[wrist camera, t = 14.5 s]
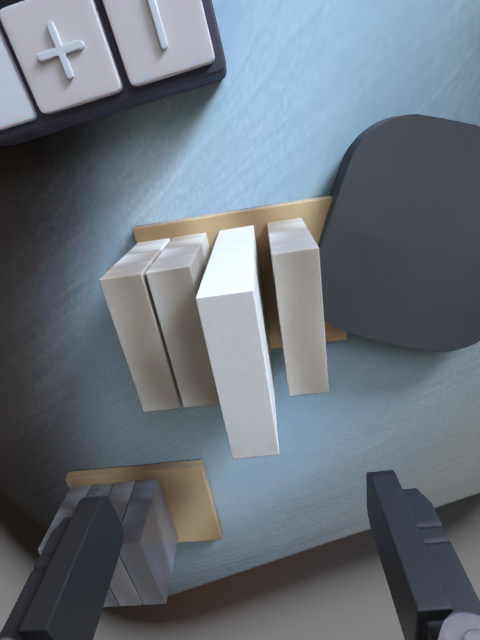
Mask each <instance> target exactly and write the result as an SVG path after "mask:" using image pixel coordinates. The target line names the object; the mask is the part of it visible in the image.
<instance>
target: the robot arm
mask: <svg viewBox="0 0 480 640" xmlns="http://www.w3.org/2000/svg"><path fill="white" fill-rule="evenodd" d="M367 510H368V517H369V522H370V526H371V530H372V533H373V536H374V539H375V543H376V546H377V549H378V553H379V556H380V559H381V562H382V566H383V569H384V572H385V576H386V579H387V582H388V585H389V589H390V592H391V595H392V598H393V602H394V605H395V608H396V612H397V615H398V618H399V622H400V625H401V628H402V631H403V635H404V638H405V640H480V601H479V599H478V597H477V595H476V593H475V591H474V589H473V587H472V585H471V583H470V581H469V579H468V577H467V575H466V573H465V571H464V568H463V566H462V564H461V562H460V560H459V558H458V556H457V554H456V552H455V550H454V548H453V546H452V544H451V542H449V538H448V536H447V534H446V532H445V530H444V528H443V526H442V525H441V522H440V520H439V517H438V516H437V513H436V511H435V509H434V507H433V505H432V503H431V502H430V501H429V500H428V499H427V498H426V497H425V496H424V495H423V494H421V493H420V492H419V491H418V490H417V489H416V488H415V489H403V490H402V488H401V486H400V483H399V481H398V479H397V476H396V474H395V472H394V471H393V470H389V471H378V472H367ZM122 544H123V527H122V524H121V522H120V520H119V517H118V515H117V513H116V511H115V508H114V506H113V504H112V502H111V499H110V498H109V496H107V495H102V496H91V497H83V498H82V499H81V500H80V501H79V502H78V504H77V506H76V509H75V511H74V513H73V515H72V517H65V518H64V519H63V520H62V522H61V523H60V524H59V525H58V526H57V527H56V528H55V530H54V531H53V532H52V533H51V534H50V536H49V538H48V540H47V542H46V544H45V546H44V548H43V550H42V555H41V556H39V558H38V560H37V562H36V564H35V566H34V571H32V572H31V574H30V576H29V578H28V580H27V582H26V584H25V586H24V588H23V590H22V592H21V594H20V596H19V598H18V600H17V602H16V604H15V606H14V608H13V610H12V612H11V614H10V616H9V618H8V620H7V622H6V624H5V626H4V628H3V630H2V631H1V633H0V640H93V637H94V634H95V631H96V628H97V625H98V621H99V618H100V615H101V612H102V609H103V606H104V602H105V599H106V596H107V593H108V590H109V587H110V583H111V580H112V577H113V574H114V571H115V568H116V564H117V561H118V558H119V555H120V552H121V548H122Z"/></svg>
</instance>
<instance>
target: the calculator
mask: <svg viewBox="0 0 480 640" xmlns="http://www.w3.org/2000/svg"><path fill="white" fill-rule="evenodd" d="M225 76H226V61H225V56H224V52H223V48H222V43H221V39H220V35H219V30H218V26H217V22H216V18H215V13H214V9H213V5H212V0H0V146H9V145H17V144H20V143H24V142H27V141H30V140H33V139H36V138H40V137H43V136H46V135H49V134H53V133H56V132H59V131H62V130H64V129H66V128H69V127H71V126H74V125H77V124H81V123H84V122H87V121H90V120H94V119H97V118H100V117H103V116H107V115H110V114H113V113H116V112H120V111H123V110H126V109H129V108H132V107H136V106H139V105H142V104H145V103H149V102H152V101H155V100H158V99H162V98H165V97H168V96H171V95H175V94H178V93H181V92H184V91H188V90H191V89H194V88H197V87H201V86H204V85H207V84H210V83H214V82H217V81H220V80H222V79H223V78H224V77H225Z"/></svg>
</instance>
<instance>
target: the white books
mask: <svg viewBox="0 0 480 640" xmlns="http://www.w3.org/2000/svg"><path fill="white" fill-rule="evenodd" d="M332 198H333V197H332V196H331V195H328V196H322V197H315V198H309V199H303V200H296V201H290V202H284V203H278V204H271V205H265V206H259V207H252V208H246V209H240V210H234V211H227V212H221V213H215V214H208V215H202V216H196V217H190V218H183V219H177V220H171V221H165V222H158V223H152V224H146V225H139V226H136V227H134V228H133V229H132V230H133V234H134V237H135V241H136V245H135V246H134V247H133V248H132V249H131V250H130V251H129V252H128V253H126V254H125V255H124V256H123V257H122V258H121V259H120V260H119V261H118V262H117V263H116V264H115V265H114V266H113V267H112V268H111V269H109V270H108V271H107V272H106V273H105V274H104V275H103V276H102V277H101V278H100V279H99V283H100V285H101V288H102V291H103V294H104V297H105V300H106V303H107V306H108V309H109V312H110V315H111V318H112V320H113V323H114V326H115V329H116V332H117V335H118V338H119V341H120V344H121V347H122V350H123V352H124V355H125V358H126V361H127V364H128V367H129V370H130V373H131V376H132V379H133V382H134V385H135V387H136V390H137V393H138V396H139V399H140V402H141V405H142V408H143V411H144V412H150V411H159V410H169V409H178V408H180V407H181V403H183V407H184V408H188V407H198V406H207V405H216V404H220V403H219V398H218V394H217V390H216V385H215V381H214V377H213V372H212V368H211V364H210V359H209V355H208V351H207V346H206V342H205V338H204V334H203V329H202V325H201V321H200V316H199V312H198V308H197V303H196V296H197V293H198V290H199V287H200V284H201V281H202V279H203V276H204V273H205V270H206V267H207V264H208V262H209V259H210V256H211V253H212V250H213V247H214V244H215V242H216V239H217V236H218V233H219V231H220V230H226V229H233V228H239V227H246V226H252V225H253V226H254V232H255V239H256V246H257V253H258V260H259V267H260V274H261V280H262V287H263V294H264V301H265V308H266V315H267V322H268V329H269V336H270V345H271V349H276V348H283V354H284V362H285V369H286V376H287V383H288V391H289V396H299V395H308V394H317V393H326V392H329V384H328V369H327V355H326V342H334V341H342V340H347V332H345V331H342V330H339V329H336V328H334V327H333V326H331V325H329V324H328V323H327V322H325V321H324V312H323V298H322V284H321V269H320V255H319V247H318V242H319V239H320V236H321V232H322V229H323V226H324V223H325V219H326V216H327V213H328V210H329V207H330V204H331V201H332Z"/></svg>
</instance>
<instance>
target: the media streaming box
mask: <svg viewBox="0 0 480 640" xmlns="http://www.w3.org/2000/svg"><path fill="white" fill-rule="evenodd" d="M330 195H331V196H332V197H333V198H332V201H331V204H330V207H329V210H328V213H327V216H326V219H325V223H324V226H323V229H322V232H321V236H320V239H319V242H318V247H319V255H320V269H321V284H322V298H323V312H324V321H325V322H327V323H328V324H329V325H331V326H333V327H334V328H336V329H339V330H342V331H345V332H348V333H351V334H355V335H358V336H361V337H365V338H369V339H373V340H376V341H381V342H385V343H389V344H394V345H399V346H404V347H410V348H416V349H423V350H431V351H442V352H447V351H454V350H458V349H462V348H465V347H468V346H470V345H473V344H475V343H477V342H479V341H480V127H479V126H475V125H471V124H466V123H462V122H457V121H452V120H447V119H442V118H436V117H431V116H424V115H418V114H414V115H404V116H397V117H391V118H387V119H385V120H382V121H380V122H378V123H376V124H374V125H372V126H370V127H369V128H368V129H366V130H365V131H364V132H363V133H361V134H360V135H359V136H358V137H357V138H356V139H355V141H354V142H353V143H352V144H351V146H350V147H349V148H348V150H347V152H346V154H345V156H344V158H343V161H342V164H341V166H340V169H339V172H338V174H337V177H336V180H335V183H334V186H333V188H332V191H331V194H330Z"/></svg>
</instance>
